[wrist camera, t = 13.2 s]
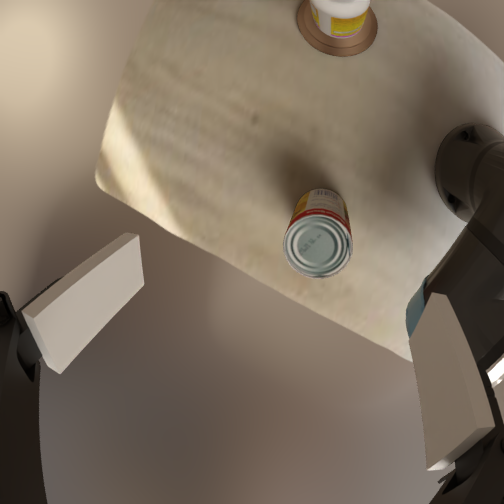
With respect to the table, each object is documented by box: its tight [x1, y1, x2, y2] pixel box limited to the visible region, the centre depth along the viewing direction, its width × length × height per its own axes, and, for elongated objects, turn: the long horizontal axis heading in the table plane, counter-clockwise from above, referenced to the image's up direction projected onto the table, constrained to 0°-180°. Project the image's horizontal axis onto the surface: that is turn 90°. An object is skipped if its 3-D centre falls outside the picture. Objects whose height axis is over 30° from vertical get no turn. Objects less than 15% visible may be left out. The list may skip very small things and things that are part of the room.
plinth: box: [297, 0, 378, 57], centre depth 28 cm, size 11×11×2 cm
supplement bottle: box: [310, 0, 371, 38], centre depth 22 cm, size 7×7×13 cm
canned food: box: [283, 189, 353, 279], centre depth 37 cm, size 8×8×12 cm
